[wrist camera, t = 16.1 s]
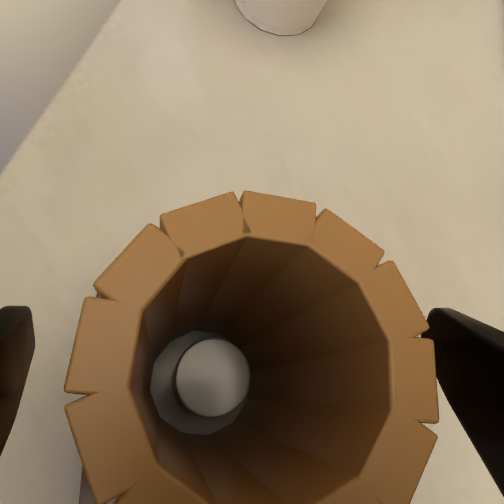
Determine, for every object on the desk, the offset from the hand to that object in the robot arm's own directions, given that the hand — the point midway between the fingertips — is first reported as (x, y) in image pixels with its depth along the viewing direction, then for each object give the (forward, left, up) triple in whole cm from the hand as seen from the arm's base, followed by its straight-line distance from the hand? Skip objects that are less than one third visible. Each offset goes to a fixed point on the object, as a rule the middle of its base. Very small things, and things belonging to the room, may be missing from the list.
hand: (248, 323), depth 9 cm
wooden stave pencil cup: (-1, 0, -11) cm, 11 cm away
